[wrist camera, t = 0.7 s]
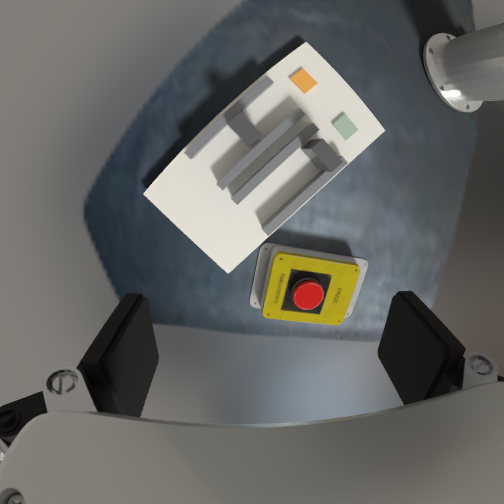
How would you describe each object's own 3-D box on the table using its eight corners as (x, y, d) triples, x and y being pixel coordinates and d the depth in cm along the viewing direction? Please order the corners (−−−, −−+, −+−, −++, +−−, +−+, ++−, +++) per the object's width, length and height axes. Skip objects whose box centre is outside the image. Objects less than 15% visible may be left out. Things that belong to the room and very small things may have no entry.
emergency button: (263, 252, 32) (381, 271, 33) (261, 240, 36) (368, 258, 37) (248, 322, 35) (358, 333, 36) (248, 304, 39) (348, 316, 40)
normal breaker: (310, 139, 30) (323, 138, 25) (328, 159, 30) (343, 162, 26) (300, 148, 30) (310, 149, 25) (318, 168, 31) (331, 172, 26)
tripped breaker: (240, 117, 29) (239, 111, 24) (259, 136, 29) (262, 134, 25) (229, 127, 29) (226, 123, 24) (248, 146, 30) (250, 146, 25)
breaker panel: (303, 45, 27) (309, 36, 24) (379, 130, 31) (392, 129, 28) (147, 191, 33) (138, 196, 30) (228, 268, 36) (227, 280, 33)
